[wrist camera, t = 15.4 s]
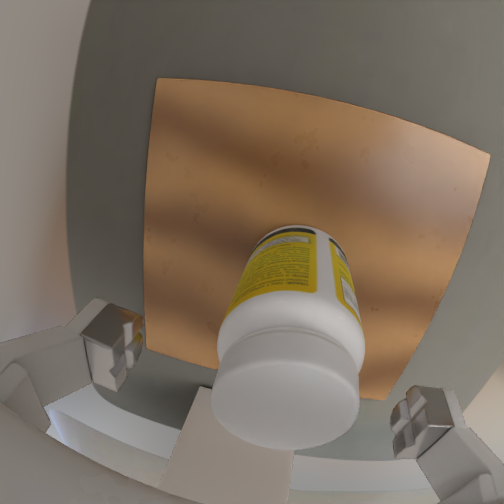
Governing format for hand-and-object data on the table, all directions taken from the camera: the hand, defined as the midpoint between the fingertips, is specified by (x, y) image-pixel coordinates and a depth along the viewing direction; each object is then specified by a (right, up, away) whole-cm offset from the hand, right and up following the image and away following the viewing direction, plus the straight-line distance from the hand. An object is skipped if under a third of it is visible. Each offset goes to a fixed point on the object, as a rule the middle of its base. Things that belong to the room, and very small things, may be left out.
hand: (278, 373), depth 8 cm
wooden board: (+2, +3, +7) cm, 8 cm away
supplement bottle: (+2, +3, +7) cm, 7 cm away
